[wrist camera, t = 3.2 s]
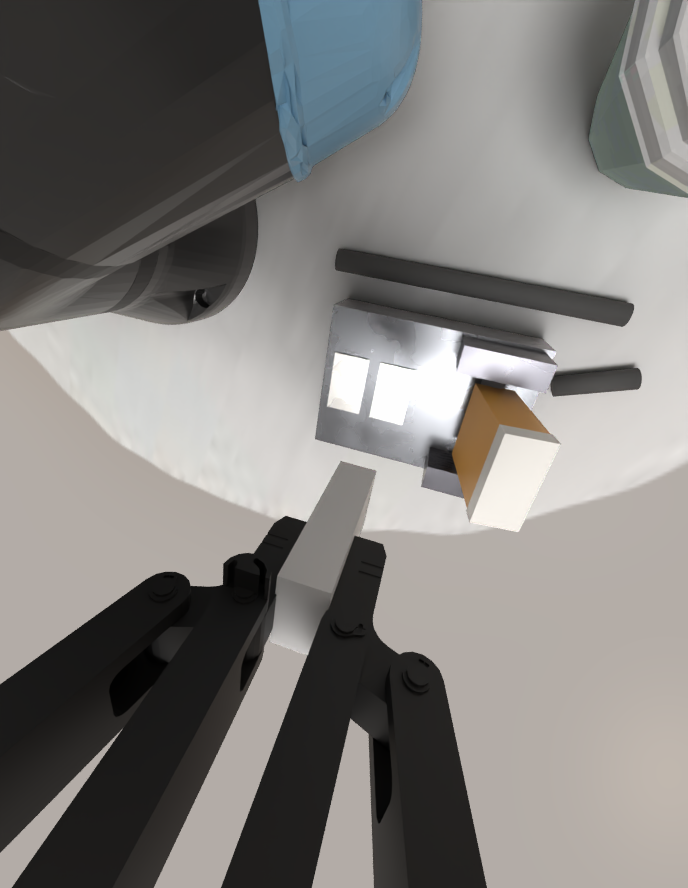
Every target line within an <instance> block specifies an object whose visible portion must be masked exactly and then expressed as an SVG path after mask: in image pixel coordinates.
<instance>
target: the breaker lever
mask: <svg viewBox="0 0 688 888" xmlns="http://www.w3.org/2000/svg"><path fill="white" fill-rule="evenodd" d="M505 385H506V384H503V383H498V382H494V381H489V380H485V379H482V382H481V384H477V383H475V386H474V389H473V392H472V395H471V398H470V401H469V404H468V407H467V410H466V413H465V416H464V419H463V422H462V425H461V428H460V431H459V434H458V437H457V440H456V443H455V446H454V449H453V452H452V456H453V460H454V464H455V467H456V471H457V474H458V478H459V481H460V485H461V489H462V492H463V496H464V499H465V503H466V506H467V510H466V511H467V515H468V519H469V522H470V523H475V524H480V525H485V526H490V527H495V528H501V529H505V530H510V531H515V532H519V530H520V528H521V526H522V524H523V522H524V520H525V518H526V516H527V514H528V512H529V509H530V507H531V505H532V503H533V501H534V499H535V497H536V495H537V493H538V491H539V489H540V487H541V485H542V483H543V480H544V478H545V476H546V474H547V472H548V470H549V468H550V466H551V464H552V462H553V460H554V458H555V456H556V453H557V451H558V449H559V447H560V445H561V444H560V443H559V441H558V440H557V439H556V438H555V437H554V435H553V434H550V433H549V432H548V431H547V429H546V428H545V427H544V426H543V425H542V423H541V422H540V421H539V420H538V419H537V417H536V416H535V415H534V414H533V412H532V411H531V410H530V409H529V408H528V406H527V405H526V404H525V403H524V402H523V400H522V399H521V398H520V397H519V395H518V394H517V393H516V392H515V391H514V390H508V389H504V388H505Z"/></svg>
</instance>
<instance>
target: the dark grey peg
mask: <svg viewBox="0 0 688 888" xmlns="http://www.w3.org/2000/svg"><path fill="white" fill-rule="evenodd" d="M641 381H642V376H641V372H640V370H639V369H638V368H633V369H623V370H613V371H602V372H592V373H582V374H572V375H562V376H553V378H552V381H551V391H552V395H553V397H554V396H565V395H577V394H589V393H600V392H612V391H624V390H635V389H639V388H640V386H641Z"/></svg>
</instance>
